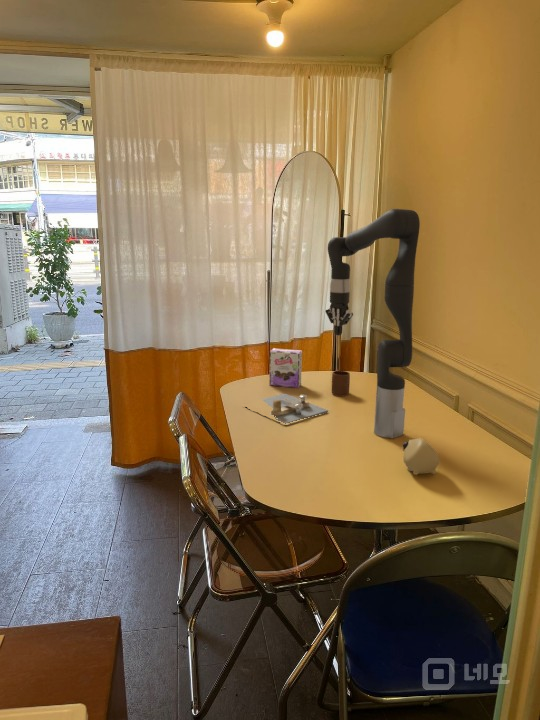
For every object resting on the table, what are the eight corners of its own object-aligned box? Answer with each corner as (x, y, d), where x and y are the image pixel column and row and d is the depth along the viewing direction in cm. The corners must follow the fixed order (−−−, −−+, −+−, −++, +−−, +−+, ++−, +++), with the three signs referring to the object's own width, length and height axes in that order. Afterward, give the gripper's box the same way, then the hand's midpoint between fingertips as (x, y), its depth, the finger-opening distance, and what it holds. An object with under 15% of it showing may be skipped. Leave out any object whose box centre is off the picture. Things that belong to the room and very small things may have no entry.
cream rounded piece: (427, 462, 154) (430, 429, 151) (443, 481, 142) (446, 446, 139) (395, 462, 153) (398, 430, 150) (409, 482, 141) (412, 447, 139)
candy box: (268, 385, 228) (269, 350, 223) (272, 382, 233) (272, 347, 229) (298, 388, 224) (299, 352, 219) (301, 384, 229) (302, 349, 225)
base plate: (328, 412, 194) (328, 410, 194) (285, 425, 181) (285, 423, 181) (284, 395, 214) (284, 393, 214) (242, 406, 200) (242, 404, 200)
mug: (327, 388, 224) (328, 368, 222) (343, 387, 225) (344, 367, 223) (333, 396, 213) (334, 375, 211) (351, 396, 214) (352, 375, 211)
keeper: (316, 410, 194) (317, 399, 193) (297, 415, 188) (297, 404, 187) (299, 403, 201) (300, 392, 200) (280, 408, 195) (280, 397, 194)
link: (302, 403, 201) (303, 390, 200) (311, 406, 198) (312, 393, 196) (269, 413, 189) (269, 399, 188) (278, 417, 186) (278, 403, 185)
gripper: (359, 291, 190) (357, 336, 194) (333, 288, 200) (332, 331, 204) (346, 293, 185) (344, 338, 190) (320, 289, 195) (319, 333, 199)
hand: (338, 334), depth 197 cm, fingers closed
